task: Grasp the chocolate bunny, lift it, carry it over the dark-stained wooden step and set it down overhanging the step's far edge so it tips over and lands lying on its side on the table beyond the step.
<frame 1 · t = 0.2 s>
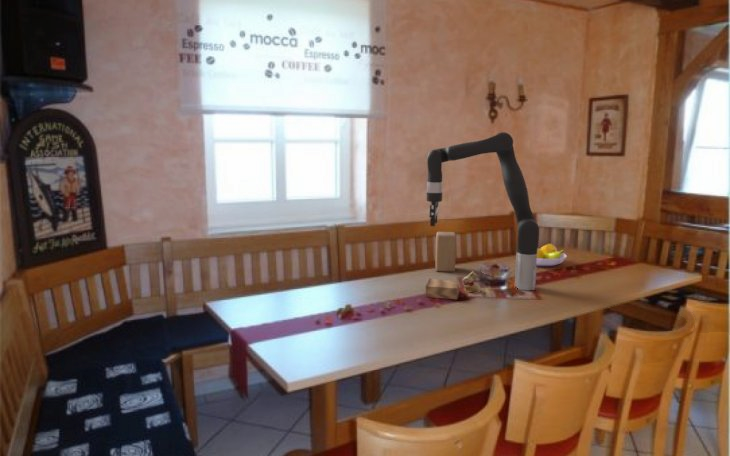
hand: (433, 224, 255), 29 cm above the table, fingers open, 8 cm apart
chocolate bunny: (472, 291, 244), on the table
oak step: (442, 294, 240), on the table
fruit bowl: (541, 264, 296), on the table
wooden block: (444, 269, 283), on the table
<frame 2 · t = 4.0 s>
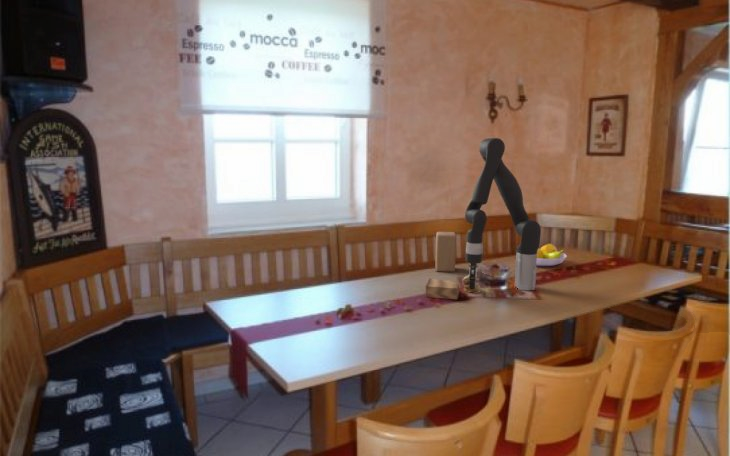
hand: (472, 287, 244), 2 cm above the table, fingers closed on chocolate bunny, 4 cm apart
chocolate bunny: (472, 291, 244), on the table, touching gripper
everything else where it was.
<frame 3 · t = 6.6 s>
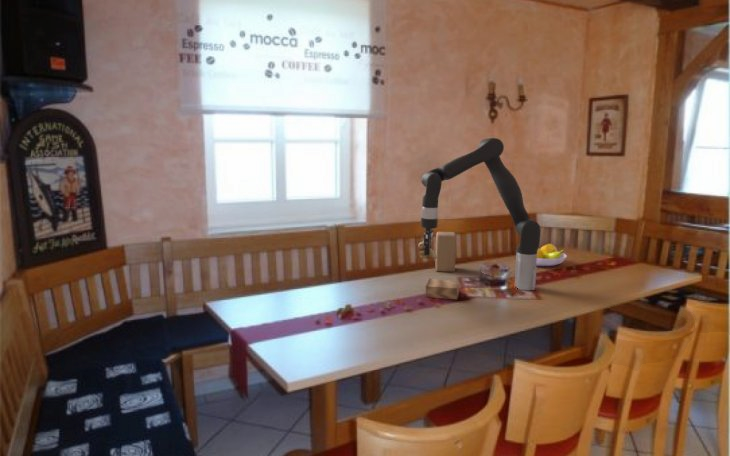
hand: (427, 253, 239), 18 cm above the table, fingers closed on chocolate bunny, 4 cm apart
chocolate bunny: (427, 258, 239), point 16 cm above the table, touching gripper
everything else where it was.
when the fingers open (8 cm above the table, at t = 9.0 s): chocolate bunny drops 4 cm, point 3 cm above the table.
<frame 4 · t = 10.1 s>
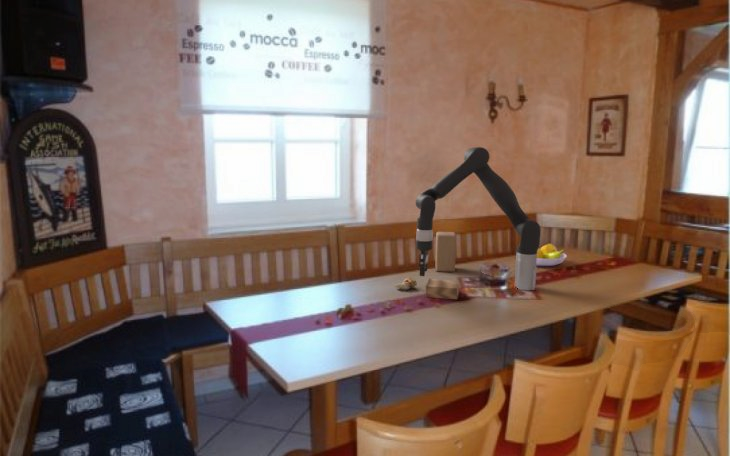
hand: (423, 273, 240), 9 cm above the table, fingers open, 8 cm apart
chocolate bunny: (413, 281, 250), point 3 cm above the table
everything else where it was.
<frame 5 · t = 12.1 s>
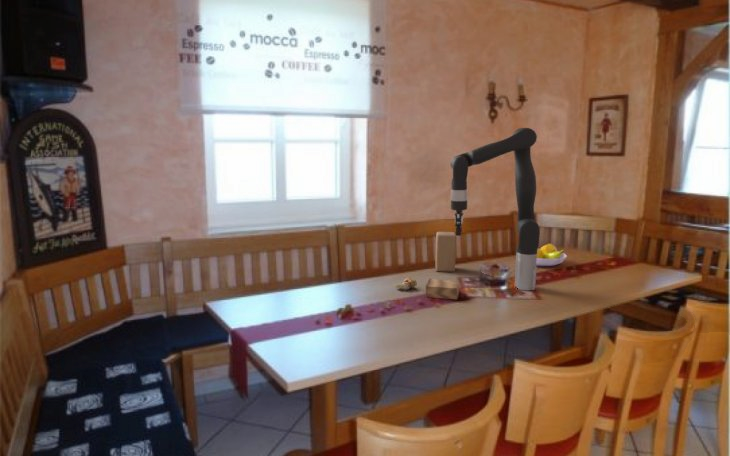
hand: (458, 233, 246), 26 cm above the table, fingers open, 8 cm apart
nothing on the table moved.
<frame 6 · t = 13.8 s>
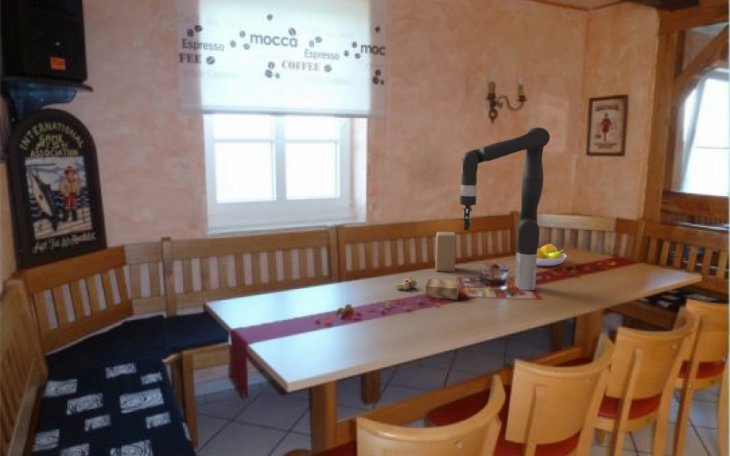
hand: (466, 228, 248), 28 cm above the table, fingers open, 8 cm apart
nothing on the table moved.
at the end: chocolate bunny tilted 97°; chocolate bunny inside the target area on the table beside the oak step (7.6 cm from its centre), point 2.5 cm above the table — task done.
